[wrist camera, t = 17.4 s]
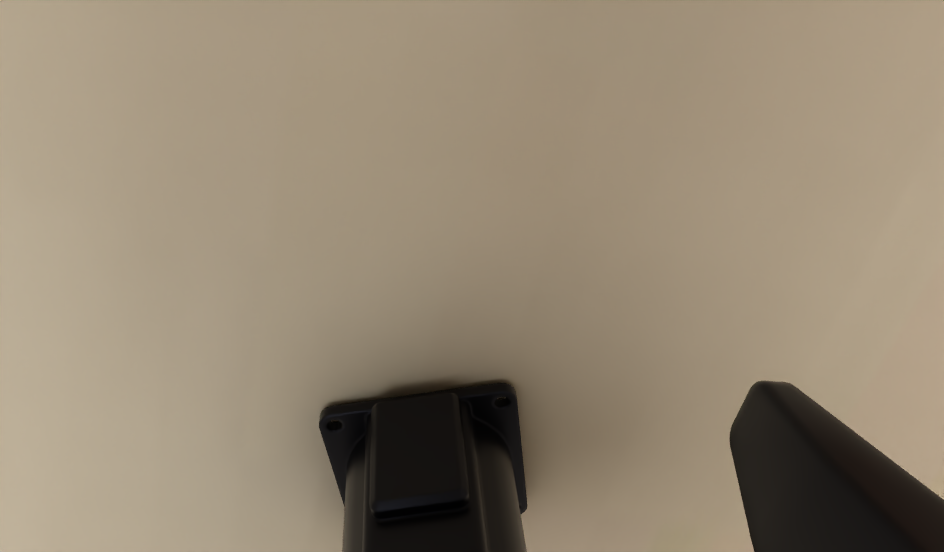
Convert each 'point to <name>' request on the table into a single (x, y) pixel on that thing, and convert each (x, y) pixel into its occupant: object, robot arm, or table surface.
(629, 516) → the table surface
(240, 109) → the table surface
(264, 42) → the table surface
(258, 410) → the table surface
